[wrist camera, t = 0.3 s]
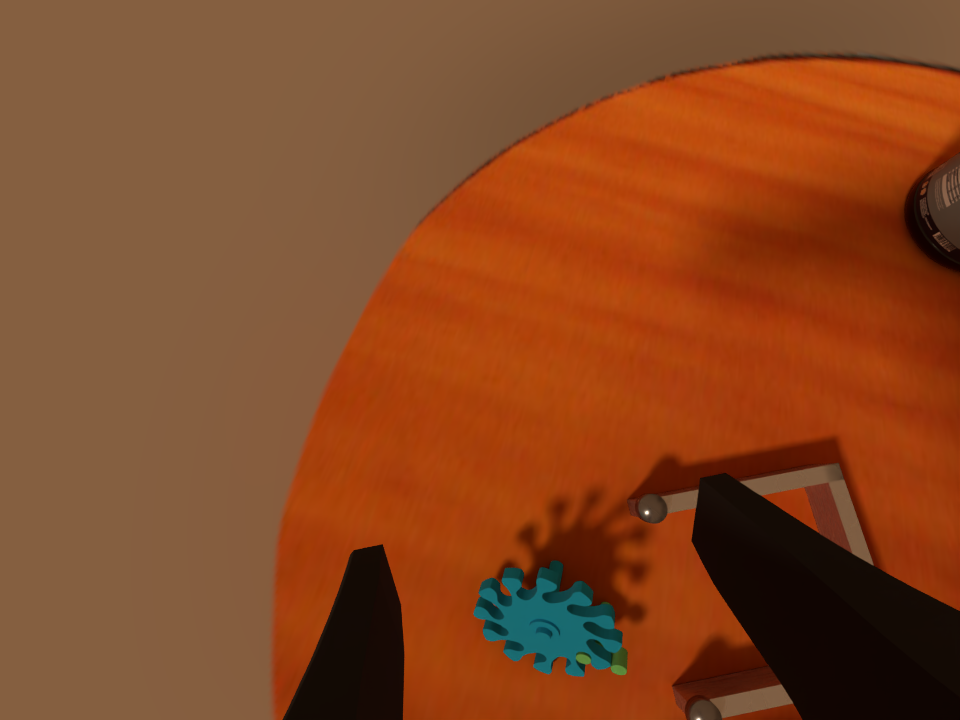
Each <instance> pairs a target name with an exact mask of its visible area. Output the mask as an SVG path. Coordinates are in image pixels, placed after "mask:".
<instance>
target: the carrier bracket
mask: <svg viewBox="0 0 960 720" xmlns="http://www.w3.org/2000/svg"><path fill="white" fill-rule="evenodd" d="M736 480H738V481H739V482H741V483H742V484H744V485H745V486H747V487H748V488H750V489H751V490H753V491H754V492H756V493H757V494H759V495H765V494H771V493H776V492H781V491H786V490H791V489H797V488H802V487H805V490H806V493H807V496H808V499H809V502H810V505H811V508H812V512H813V515H814V518H815V521H816V524H817V527H818V530H819V533H820V534H821V535H823V536H824V537H826V538H827V539H829V540H831V541H832V542H834V543H836V544H837V545H839V546H841V547H842V548H844V549H846V550H847V551H849V552H851V553H852V554H854V555H856V556H857V557H859V558H861V559H863V560H864V561H866V562H868V563H870V564H871V565H873V566H874V564H873V562H872V559H871V556H870V553H869V550H868V547H867V544H866V541H865V538H864V535H863V533H862V530H861V527H860V524H859V521H858V518H857V515H856V512H855V509H854V506H853V504H852V501H851V498H850V495H849V492H848V489H847V486H846V483H845V480H844V477H843V475H842V472H841V469H840V466H839V463H829V464H812V465H807V466H802V467H796V468H791V469H786V470H781V471H775V472H770V473H765V474H760V475H754V476H749V477H744V478H738V479H736ZM698 491H699V486H696V487H691V488H686V489H681V490H675V491H670V492H665V493H660V494H643V495H641V496H640V497H639V498H633V499H628V500H627V502H628V506H629V510H630V514H631V516H636V517H639V518H640V519H641V520H643V521H645V522H649V523H660V522H661V521H663V520H664V519H665V517H666V516H667V513H672V512H677V511H682V510H687V509H692V508H696V505H697V498H698ZM672 687H673V692H674V696H675V700H676V704H677V705H678V707H679V708H680V709H681V710H682V711H683V712H684V713H685V715H686V718H687V720H722V718H725V717H730V716H735V715H739V714H744V713H749V712H754V711H758V710H763V709H768V708H773V707H778V706H782V705H787V704H792V703H793V702H792V700H791V699H790V697H789V696H788V694H787V692H786V691H785V689H784V688H783V686H782V685H781V683H780V681H779V680H778V679H777V677H776V676H775V674H774V673H773V671H772V670H771V668H770V667H769V666H767V667H762V668H757V669H752V670H747V671H742V672H738V673H733V674H728V675H723V676H718V677H713V678H708V679H704V680H699V681H694V682H689V683H684V684H679V685H674V686H672Z"/></svg>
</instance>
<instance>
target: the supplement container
mask: <svg viewBox="0 0 960 720" xmlns="http://www.w3.org/2000/svg"><path fill="white" fill-rule="evenodd" d="M905 217H906V223H907V227H908V229H909V232H910V234H911V236H912V238H913V239H914V241H915V243H916V244H917V245H918V247H919V248H920V249H921V250H922V251H923V252H924V253H925V254H926V255H927V256H928V257H930V258H931V259H932V260H934V261H935V262H937V263H938V264H940V265H942V266H944V267H946V268H948V269H951V270H954V271H957V272H960V152H959V153H958V154H956V155H955V156H953V157H952V158H951V159H949V160H948V161H946V162H945V163H943V164H942V165H940V166H939V167H937V168H935V169H933V170H932V171H930V172H929V173H927V174H926V175H925V176H923V177H922V178H921V179H920V180H919V181H918V182H917V183H916V184H915V186H914V187H913V188H912V190H911V192H910V194H909V196H908V199H907V202H906V208H905Z"/></svg>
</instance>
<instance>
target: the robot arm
mask: <svg viewBox="0 0 960 720" xmlns="http://www.w3.org/2000/svg"><path fill="white" fill-rule="evenodd" d="M692 543H693V545H694V547H695V549H696V551H697V553H698V555H699V557H700V559H701V561H702V563H703V565H704V567H705V568H706V570H707V572H708V574H709V576H710V578H711V580H712V581H713V583H714V585H715V586H716V588H717V590H718V591H719V593H720V594H721V596H722V597H723V599H724V600H725V602H726V603H727V605H728V606H729V608H730V609H731V611H732V612H733V614H734V615H735V617H736V618H737V620H738V621H739V623H740V624H741V625H742V627H743V628H744V630H745V631H746V633H747V634H748V636H749V637H750V639H751V640H752V642H753V643H754V645H755V646H756V648H757V649H758V651H759V652H760V653H761V655H762V656H763V658H764V659H765V661H766V662H767V664H768V665H769V667H770V668H771V670H772V671H773V673H774V674H775V676H776V677H777V679H778V680H779V681H780V683H781V685H782V686H783V688H784V689H785V691H786V692H787V694H788V696H789V697H790V699H791V700H792V702H793V704H794V705H795V707H796V709H797V710H798V712H799V714H800V716H801V717H802V719H803V720H960V611H958V610H956V609H954V608H952V607H950V606H948V605H946V604H944V603H942V602H940V601H939V600H937V599H935V598H933V597H931V596H929V595H927V594H925V593H923V592H921V591H919V590H917V589H915V588H913V587H911V586H909V585H907V584H906V583H904V582H902V581H900V580H898V579H896V578H894V577H893V576H891V575H889V574H887V573H885V572H884V571H882V570H880V569H878V568H877V567H875V566H873V565H871V564H870V563H868V562H866V561H864V560H863V559H861V558H859V557H857V556H856V555H854V554H852V553H851V552H849V551H847V550H846V549H844V548H842V547H841V546H839V545H837V544H836V543H834V542H832V541H831V540H829V539H827V538H826V537H824V536H823V535H821V534H819V533H818V532H816V531H815V530H813V529H811V528H810V527H808V526H807V525H805V524H804V523H802V522H800V521H799V520H797V519H796V518H794V517H793V516H791V515H790V514H788V513H786V512H785V511H783V510H782V509H780V508H779V507H777V506H776V505H774V504H773V503H771V502H770V501H768V500H767V499H765V498H764V497H762V496H760V495H759V494H757V493H756V492H754V491H753V490H751V489H750V488H748V487H747V486H745V485H744V484H742V483H741V482H739V481H738V480H736V479H734V478H733V477H731V476H730V475H728V474H726V473H723V474H718V475H713V476H709V477H704V478H700V484H699V491H698V498H697V505H696V512H695V520H694V527H693V534H692ZM403 690H404V642H403V627H402V614H401V604H400V600H399V597H398V594H397V590H396V587H395V584H394V580H393V577H392V574H391V570H390V567H389V564H388V560H387V557H386V554H385V550H384V547H383V544H382V545H377V546H372V547H367V548H362V549H358V550H354V551H353V552H352V553H351V555H350V557H349V561H348V564H347V567H346V570H345V573H344V576H343V579H342V582H341V585H340V588H339V591H338V594H337V597H336V599H335V602H334V605H333V607H332V610H331V612H330V615H329V618H328V620H327V623H326V625H325V627H324V630H323V632H322V635H321V637H320V639H319V642H318V644H317V647H316V649H315V652H314V654H313V656H312V658H311V661H310V663H309V665H308V667H307V669H306V672H305V674H304V676H303V678H302V680H301V682H300V684H299V687H298V689H297V691H296V693H295V695H294V697H293V699H292V701H291V704H290V706H289V708H288V710H287V712H286V714H285V716H284V718H283V720H403Z"/></svg>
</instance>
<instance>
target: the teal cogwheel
mask: <svg viewBox="0 0 960 720" xmlns="http://www.w3.org/2000/svg"><path fill="white" fill-rule="evenodd" d="M562 572H563V564H562V563H561V562H559V561H556V560H554V561H551V562H550V567H549V569H547V568H544V567H541V568H540V569H539V571H538V576H537V580H536V584H537V585H536V586H535V587H534V588H533V589H531V590H526V589H524V588H522V587H521V585H522V582H523V578H524V572H523V570H522V569H519V568H505V571H504V574H503V577H502V583H503V585H504V586H505V587H506V588H507V589H508V590H509V592H510V593H511V596H506V595H504V594H503V593H502V592H501V590H500V583H499V582H498V581H497V580H496V579H495V578H489V579H486V580H485V581H483V582H482V584H481V587H480V590H479V594H480V596H481V597H479V599H478V601H477V604H476V607H475V610H474V616H475V617H477V618H479V619H485V620H486V621H485V624H484V627H483V634H484V636H485V638H486V640H489V641H497V640H506V643H505V647H504V651H503V652H504V653H505V654H506V655H507V656H508V657H509V658H510V659H512V660H513V661H518V660H520V659H521V657H522V656H524V655H525V654H529V653H536V656H535V661H534V668H535V669H537V670H539V671H541V672H543V673H546V674H550V673H551V672H552V666H553V660H554V659H556V658H557V657H560V656H562V657H566V658H567V662H566V669H565V671H566V673H567V674H569V675H572V676H582V677H584V673H585V664H590V663H591V664H592V666H593V667H594V668H596V669H605V668H608V667H610V666H611V671H612V672H614V673H615V674H618V675H625V674H626V673H627V654H628V652H627V650H626V649H624V648H623V647H621V646H622V636H623V633H622V632H621V631H619V630H617V629H614V623H615V611H614V608H613V606H612V605H610V603H608V602H602V603H601V605H598V606H589V605H591V604H592V600H593V590H592V589H591V588H590V587H589V586H588V585H587V584H586V583H585V582H583V581H577V582H575V583H574V584H573V586H572V587H571V588H569V589H568V590H566V591H562V592H559V589H560V583H561V578H562ZM492 603H493V604H495V605H496V606H497V607H498V608H499V609H498V608H496V607H495V606H494V605H493V604H492Z"/></svg>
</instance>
